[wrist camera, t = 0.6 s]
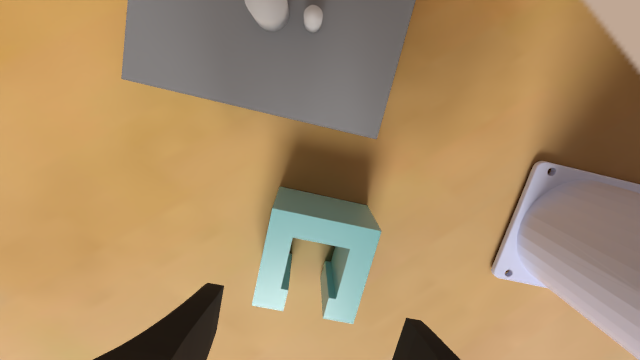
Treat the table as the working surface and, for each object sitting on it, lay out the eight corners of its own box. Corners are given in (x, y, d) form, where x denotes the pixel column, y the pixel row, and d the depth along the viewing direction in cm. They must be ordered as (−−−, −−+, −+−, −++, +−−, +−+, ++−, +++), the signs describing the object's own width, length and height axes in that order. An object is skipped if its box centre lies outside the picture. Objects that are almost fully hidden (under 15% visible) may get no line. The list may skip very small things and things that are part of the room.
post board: (425, -51, 16) (455, -89, 13) (373, 137, 19) (387, 145, 15) (150, -132, 15) (105, -198, 12) (131, 80, 18) (89, 75, 14)
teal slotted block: (279, 186, 19) (272, 208, 16) (367, 205, 20) (381, 231, 16) (262, 266, 21) (251, 305, 17) (345, 282, 21) (353, 323, 17)
